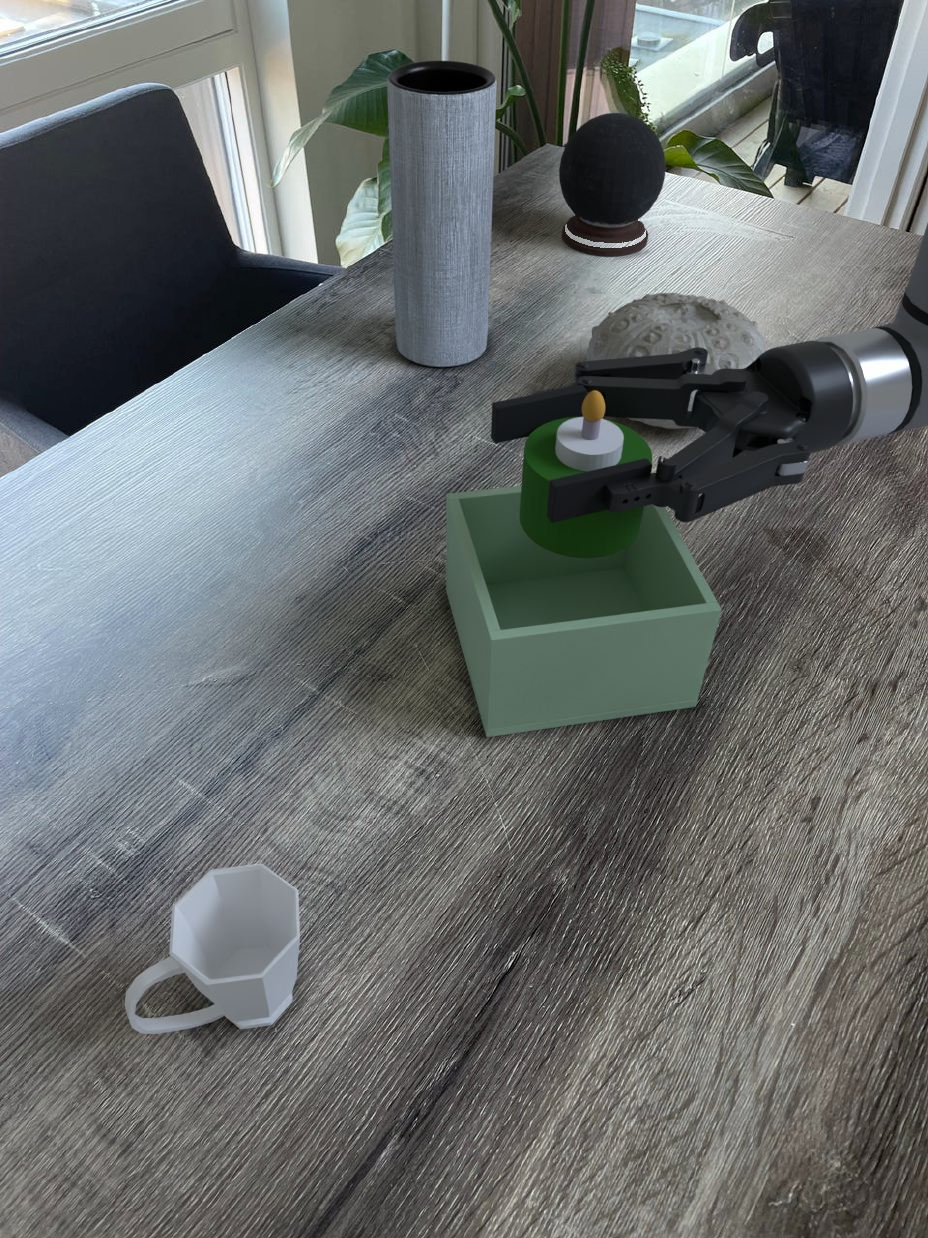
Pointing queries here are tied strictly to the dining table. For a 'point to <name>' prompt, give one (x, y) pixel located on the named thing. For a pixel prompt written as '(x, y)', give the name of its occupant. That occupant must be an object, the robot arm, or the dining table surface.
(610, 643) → the bin
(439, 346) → the vase
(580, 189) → the black ball on stand
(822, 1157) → the dining table surface
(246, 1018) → the cup
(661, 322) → the decorative shell
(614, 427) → the candle
